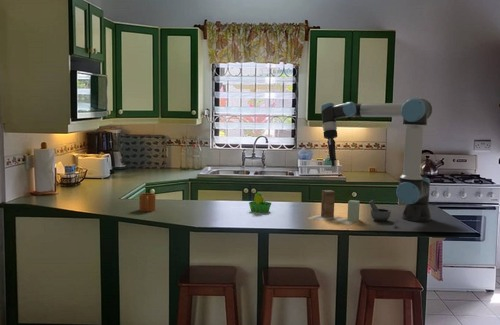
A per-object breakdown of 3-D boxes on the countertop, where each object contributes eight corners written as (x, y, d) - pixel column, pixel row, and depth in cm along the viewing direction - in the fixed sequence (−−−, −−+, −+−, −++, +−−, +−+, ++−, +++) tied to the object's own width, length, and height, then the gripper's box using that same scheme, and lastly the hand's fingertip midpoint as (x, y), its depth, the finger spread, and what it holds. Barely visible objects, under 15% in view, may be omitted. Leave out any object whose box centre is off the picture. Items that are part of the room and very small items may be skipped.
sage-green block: (358, 219, 277) (359, 200, 276) (357, 221, 272) (357, 202, 271) (349, 218, 279) (350, 200, 278) (347, 220, 274) (348, 201, 273)
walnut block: (321, 216, 284) (321, 190, 282) (329, 215, 285) (330, 190, 284) (325, 218, 279) (326, 191, 278) (333, 217, 281) (334, 191, 279)
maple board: (360, 222, 277) (360, 220, 277) (350, 227, 265) (350, 224, 265) (318, 216, 289) (318, 214, 289) (307, 221, 278) (307, 218, 277)
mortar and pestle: (388, 221, 281) (389, 199, 279) (391, 225, 271) (392, 202, 270) (367, 220, 282) (368, 198, 281) (368, 224, 273) (369, 201, 272)
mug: (135, 212, 291) (135, 196, 290) (142, 208, 303) (141, 193, 302) (151, 213, 290) (151, 196, 289) (157, 209, 302) (157, 193, 301)
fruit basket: (271, 211, 302) (272, 191, 301) (265, 214, 294) (266, 193, 293) (253, 209, 307) (254, 189, 306) (247, 211, 299) (247, 192, 298)
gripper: (325, 134, 305) (329, 174, 301) (321, 129, 293) (325, 171, 289) (338, 132, 303) (342, 173, 299) (335, 127, 291) (339, 169, 287)
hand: (334, 172), depth 294 cm, fingers closed
